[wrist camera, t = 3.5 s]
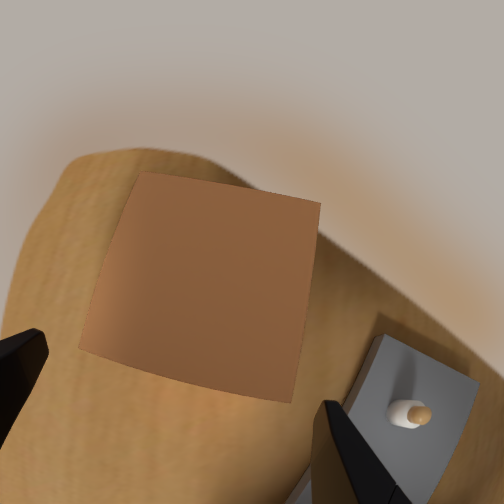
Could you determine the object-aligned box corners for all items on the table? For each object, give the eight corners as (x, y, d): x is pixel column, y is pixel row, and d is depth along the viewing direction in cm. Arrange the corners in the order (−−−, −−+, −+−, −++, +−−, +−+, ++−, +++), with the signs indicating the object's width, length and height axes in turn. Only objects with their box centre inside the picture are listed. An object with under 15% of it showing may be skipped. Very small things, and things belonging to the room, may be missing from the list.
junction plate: (387, 540, 13) (416, 565, 8) (277, 513, 14) (288, 545, 10) (467, 384, 17) (508, 379, 13) (374, 337, 19) (409, 324, 14)
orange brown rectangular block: (261, 388, 17) (290, 403, 8) (155, 364, 17) (78, 348, 8) (280, 286, 20) (320, 202, 10) (181, 266, 20) (140, 170, 11)
